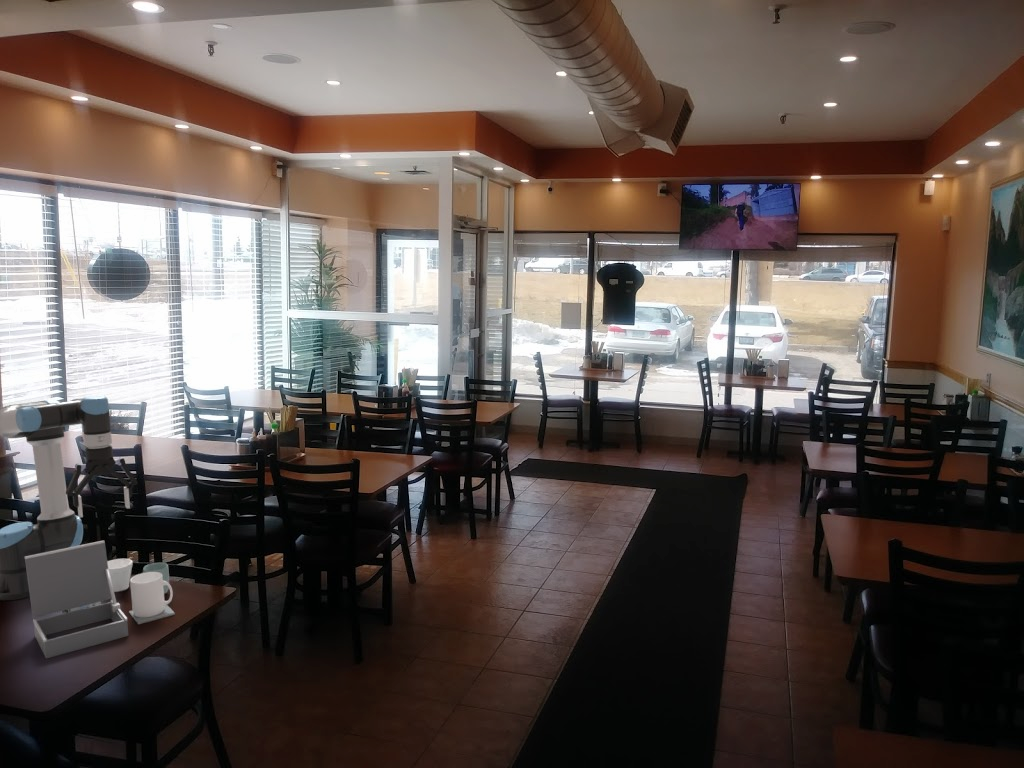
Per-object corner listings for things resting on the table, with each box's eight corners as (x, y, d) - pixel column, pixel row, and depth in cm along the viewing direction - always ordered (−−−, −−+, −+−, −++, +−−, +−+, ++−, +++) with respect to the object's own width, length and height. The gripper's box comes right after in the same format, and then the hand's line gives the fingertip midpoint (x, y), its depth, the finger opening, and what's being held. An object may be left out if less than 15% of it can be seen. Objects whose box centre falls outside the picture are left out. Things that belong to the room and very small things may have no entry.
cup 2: (149, 601, 271) (147, 572, 270) (142, 594, 277) (139, 566, 275) (173, 594, 276) (171, 566, 275) (165, 588, 282) (163, 560, 280)
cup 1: (114, 582, 287) (112, 557, 286) (140, 584, 286) (138, 558, 285) (96, 594, 278) (94, 568, 276) (123, 595, 276) (121, 569, 275)
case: (33, 635, 247) (28, 585, 245) (114, 614, 261) (109, 567, 259) (45, 658, 232) (40, 606, 230) (130, 635, 246) (125, 585, 244)
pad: (129, 612, 262) (129, 611, 262) (164, 603, 269) (164, 602, 269) (138, 624, 254) (138, 622, 254) (174, 614, 260) (174, 612, 260)
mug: (132, 609, 263) (129, 575, 261) (172, 602, 268) (169, 568, 267) (133, 620, 255) (130, 585, 253) (174, 613, 260) (171, 578, 258)
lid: (33, 618, 245) (32, 617, 246) (112, 598, 259) (111, 597, 260) (25, 557, 245) (24, 556, 246) (104, 540, 259) (103, 540, 260)
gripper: (56, 454, 242) (62, 522, 245) (144, 442, 257) (149, 506, 260) (51, 450, 247) (57, 517, 251) (137, 438, 263) (143, 501, 266)
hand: (104, 511), depth 256 cm, fingers open, 13 cm apart
